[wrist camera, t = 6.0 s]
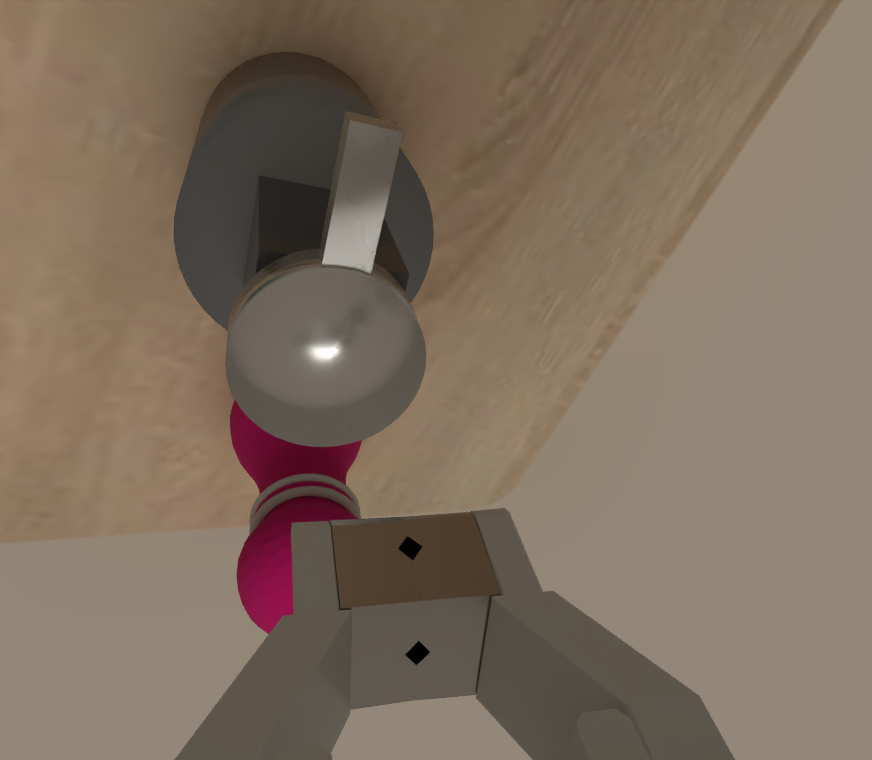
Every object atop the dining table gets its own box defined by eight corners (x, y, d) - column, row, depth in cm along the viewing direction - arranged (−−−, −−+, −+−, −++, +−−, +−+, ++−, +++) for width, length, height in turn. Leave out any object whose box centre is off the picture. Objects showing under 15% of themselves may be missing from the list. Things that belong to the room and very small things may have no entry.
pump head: (260, 49, 23) (261, 103, 16) (418, 88, 24) (485, 152, 17) (225, 300, 27) (214, 437, 19) (364, 320, 28) (401, 455, 21)
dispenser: (211, 30, 35) (164, 128, 17) (397, 77, 38) (521, 202, 20) (191, 216, 39) (136, 448, 21) (361, 246, 42) (437, 475, 24)
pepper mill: (269, 308, 43) (277, 554, 26) (377, 362, 46) (447, 612, 29) (210, 405, 45) (182, 689, 28) (316, 450, 48) (348, 730, 31)
